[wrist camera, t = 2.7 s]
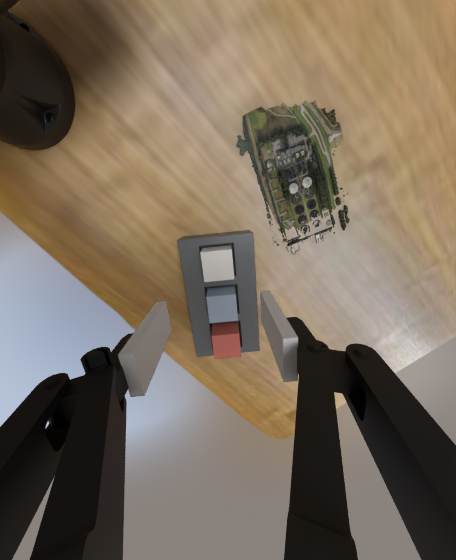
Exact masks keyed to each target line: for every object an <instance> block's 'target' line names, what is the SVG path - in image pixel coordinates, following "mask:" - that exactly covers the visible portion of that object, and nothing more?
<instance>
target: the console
mask: <svg viewBox="0 0 456 560" xmlns="http://www.w3.org/2000/svg"><path fill="white" fill-rule="evenodd" d="M177 241H178V247H179V253H180V259H181V265H182V271H183V277H184V283H185V289H186V295H187V301H188V307H189V313H190V319H191V325H192V331H193V337H194V343H195V349H196V355H197V357H200V356H211V355H214V351H213V343H212V324H216V323H210V321H209V314H208V306H207V299H206V296H207V290H208V288H215V287H225V286H234V287H235V293H236V303H237V314H238V321H237V322H238V329H239V337H240V348H241V352H251V351H260V347H259V328H258V310H257V291H256V273H255V254H254V236H253V232H251V231H250V230H246V231H236V232H226V233H215V234H205V235H195V236H185V237H182V238H180V239H179V240H177ZM227 245H231V248H232V257H233V269H234V279H232V280H222V281H212V282H204V276H203V269H202V261H201V254H200V252H201V250H202V248H207V247H217V246H227ZM228 322H236V321H228ZM218 323H226V322H218Z"/></svg>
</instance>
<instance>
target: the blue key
mask: <svg viewBox="0 0 456 560" xmlns="http://www.w3.org/2000/svg"><path fill="white" fill-rule="evenodd" d="M206 299H207V306H208V314H209V321H210V323H218V322H228V321H238V314H237V303H236V293H235V287H234V286H225V287H215V288H208V290H207V296H206Z"/></svg>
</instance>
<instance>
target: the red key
mask: <svg viewBox="0 0 456 560" xmlns="http://www.w3.org/2000/svg"><path fill="white" fill-rule="evenodd" d="M212 343H213V351H214V358H215V359H221V358H231V357H241V348H240V337H239V329H238V322H237V321H236V322H226V323H216V324H212Z"/></svg>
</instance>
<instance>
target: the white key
mask: <svg viewBox="0 0 456 560" xmlns="http://www.w3.org/2000/svg"><path fill="white" fill-rule="evenodd" d="M200 254H201V261H202V269H203V276H204V282H212V281H222V280H232V279H234V269H233V257H232V248H231V245H227V246H217V247H207V248H202V250H201V252H200Z"/></svg>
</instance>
